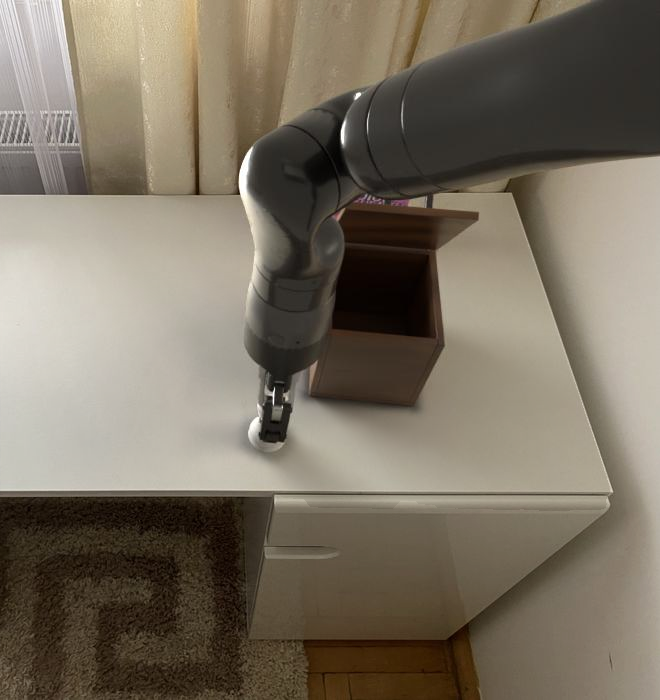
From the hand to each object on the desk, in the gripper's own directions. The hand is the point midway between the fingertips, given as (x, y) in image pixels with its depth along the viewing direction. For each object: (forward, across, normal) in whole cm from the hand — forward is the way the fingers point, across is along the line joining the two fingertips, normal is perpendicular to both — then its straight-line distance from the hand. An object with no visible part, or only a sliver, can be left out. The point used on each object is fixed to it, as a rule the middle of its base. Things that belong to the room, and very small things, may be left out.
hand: (272, 402), depth 74 cm
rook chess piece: (+8, 0, 0) cm, 8 cm away
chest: (+8, +13, -11) cm, 19 cm away
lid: (-11, +16, -11) cm, 22 cm away
